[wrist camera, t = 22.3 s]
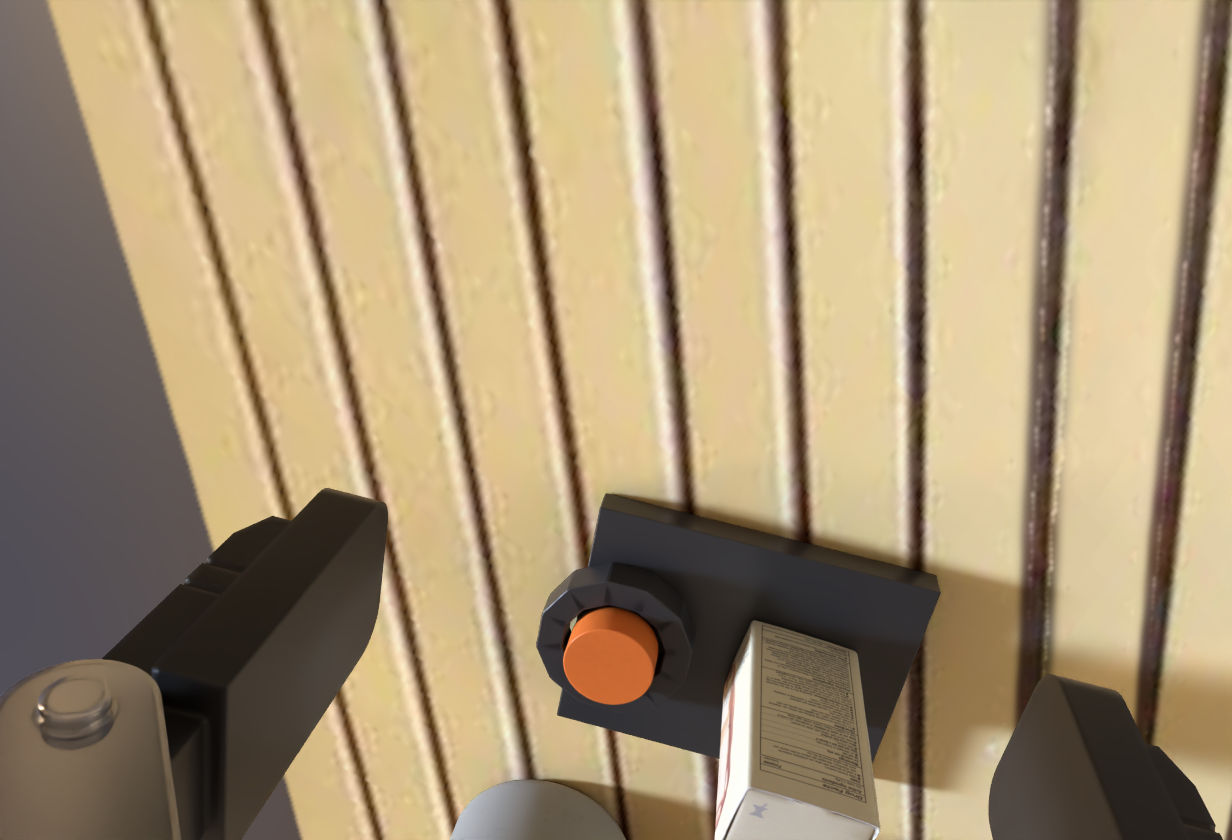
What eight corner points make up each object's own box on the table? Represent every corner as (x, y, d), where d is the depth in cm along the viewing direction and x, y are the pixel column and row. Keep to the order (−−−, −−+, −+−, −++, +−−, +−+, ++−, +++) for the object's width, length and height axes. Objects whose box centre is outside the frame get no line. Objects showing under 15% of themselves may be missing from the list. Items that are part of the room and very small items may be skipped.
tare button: (564, 667, 44) (556, 691, 43) (579, 596, 43) (570, 619, 41) (649, 689, 44) (643, 715, 42) (666, 619, 42) (662, 643, 41)
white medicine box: (721, 687, 45) (703, 863, 36) (752, 614, 43) (741, 780, 34) (828, 724, 44) (837, 910, 35) (864, 652, 43) (884, 829, 34)
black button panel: (534, 689, 48) (519, 730, 46) (574, 484, 43) (560, 516, 41) (857, 775, 47) (861, 822, 44) (936, 575, 42) (947, 614, 39)
